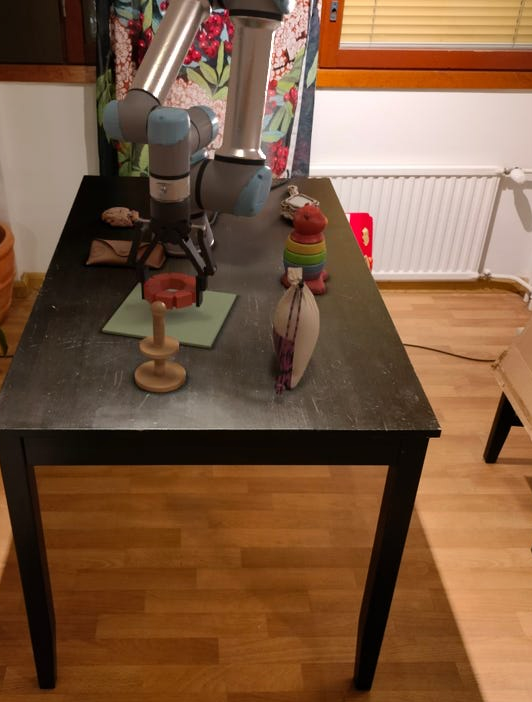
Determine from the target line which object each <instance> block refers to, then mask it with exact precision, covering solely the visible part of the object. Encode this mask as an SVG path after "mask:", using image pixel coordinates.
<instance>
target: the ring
mask: <svg viewBox="0 0 532 702" xmlns="http://www.w3.org/2000/svg"><path fill="white" fill-rule="evenodd" d="M169 289H174V290H178V291H174V292H171V291H166V290H169ZM144 297H145V300H146V301H147V302H149V303H150V304H151V305H152V304H153V303H154V302H156V301H160V302H162V303H164V304H165V306H166V309H171V310H172V309H173V307H175V308H176V309H180V308H184V307H188V306H191V305H192V303H196V277H193V276H192V275H188V274H187V273H178V272H174V271H173V272H171V273H170V274H169V272H164V273H160V274H155V275H152V277H149V279H148V280H147V282H146V283H145V284H144Z"/></svg>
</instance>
